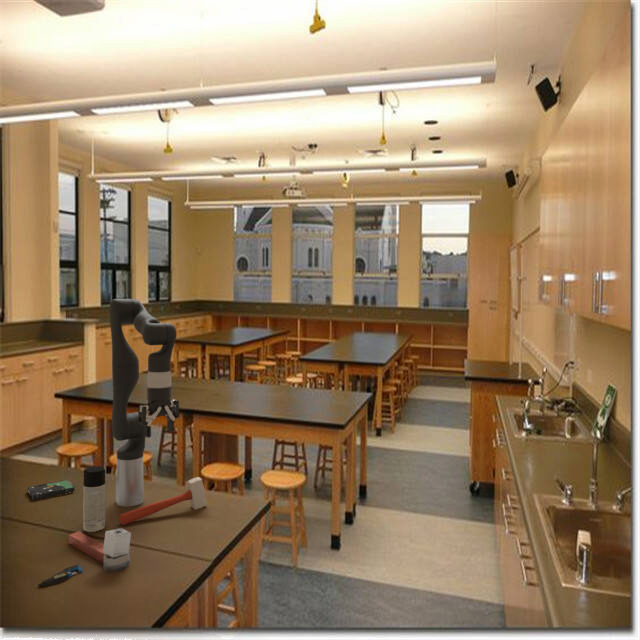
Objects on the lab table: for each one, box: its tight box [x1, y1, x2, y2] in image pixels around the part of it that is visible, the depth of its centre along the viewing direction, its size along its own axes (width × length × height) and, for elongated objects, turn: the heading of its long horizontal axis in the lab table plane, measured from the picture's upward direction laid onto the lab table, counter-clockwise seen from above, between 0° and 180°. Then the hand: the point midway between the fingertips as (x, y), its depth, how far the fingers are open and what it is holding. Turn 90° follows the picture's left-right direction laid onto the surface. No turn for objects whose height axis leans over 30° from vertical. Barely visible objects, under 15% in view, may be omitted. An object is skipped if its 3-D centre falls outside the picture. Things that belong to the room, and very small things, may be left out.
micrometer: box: [37, 564, 83, 588], centre depth 147 cm, size 12×2×5 cm
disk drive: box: [27, 479, 76, 501], centre depth 208 cm, size 10×3×15 cm
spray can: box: [82, 465, 106, 533], centre depth 177 cm, size 7×7×20 cm
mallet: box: [118, 476, 208, 526], centre depth 189 cm, size 11×4×30 cm
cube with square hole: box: [103, 527, 132, 558], centre depth 154 cm, size 5×5×6 cm
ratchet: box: [68, 530, 131, 573], centre depth 160 cm, size 27×7×6 cm, turn 53°
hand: (159, 434), depth 175 cm, fingers open, 8 cm apart
